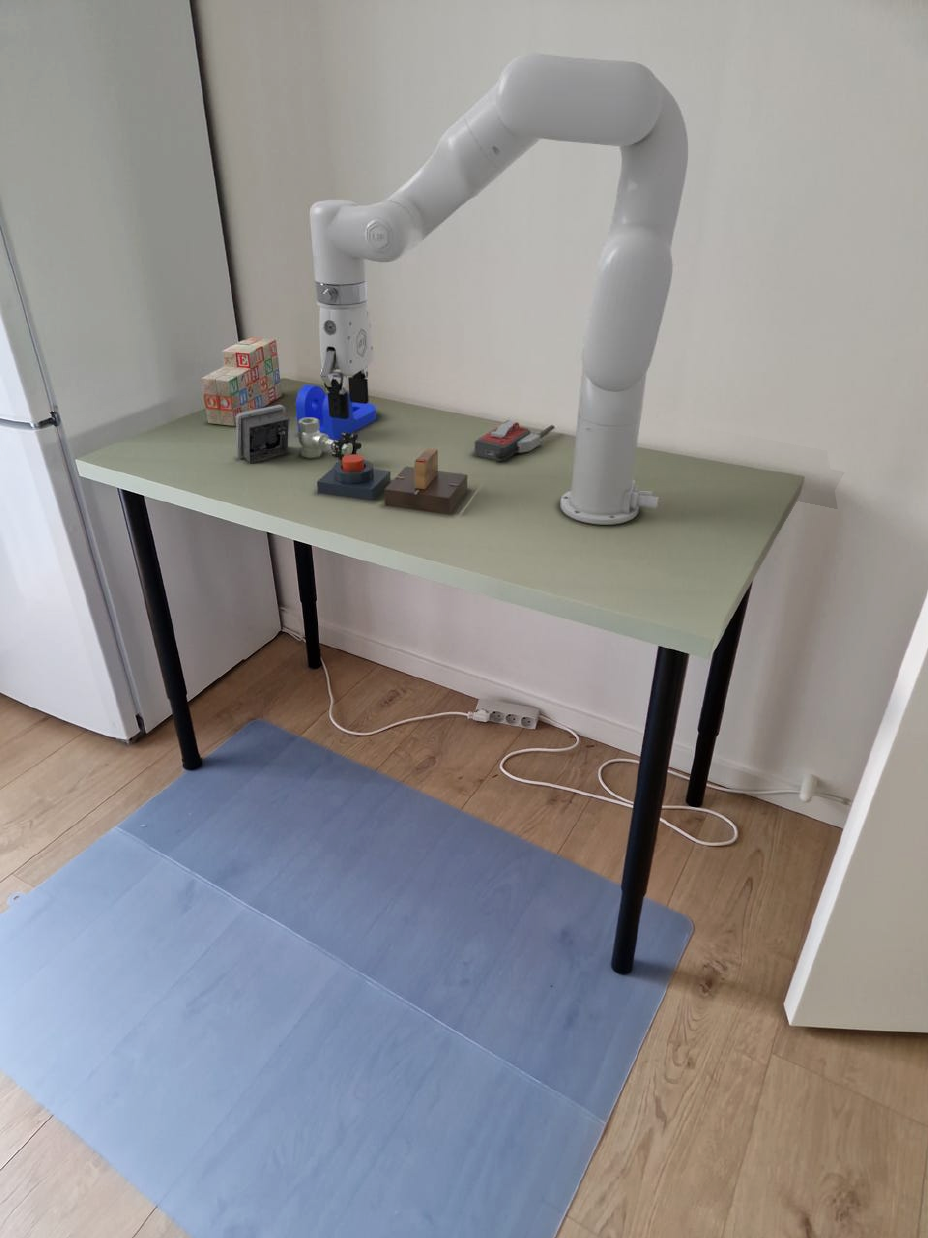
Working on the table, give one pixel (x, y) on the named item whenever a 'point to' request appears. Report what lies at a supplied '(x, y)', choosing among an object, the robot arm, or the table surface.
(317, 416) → the bracket
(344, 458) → the red button
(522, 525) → the table surface
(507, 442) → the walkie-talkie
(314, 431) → the valve
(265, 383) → the stack of blocks
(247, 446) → the electrical switch
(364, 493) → the button box
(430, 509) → the handle panel
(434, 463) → the oak handle
